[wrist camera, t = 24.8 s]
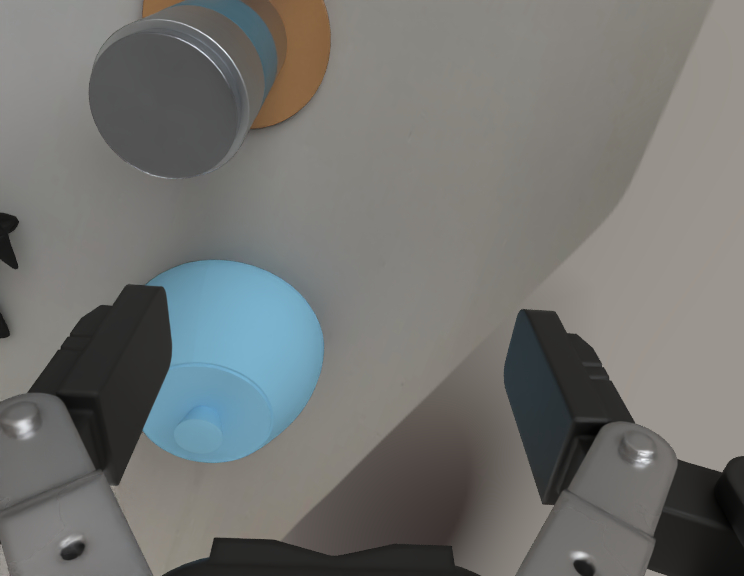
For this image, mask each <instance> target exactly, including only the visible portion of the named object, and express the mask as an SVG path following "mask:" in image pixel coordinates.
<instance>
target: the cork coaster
mask: <svg viewBox="0 0 744 576" xmlns="http://www.w3.org/2000/svg"><path fill="white" fill-rule="evenodd" d="M182 1H185V0H144V2H143V13H142V16H143V18H145V17H147V16H150V15H152V14H155V13H157V12H159V11H161V10H163V9H165V8H168V7H170V6H173V5H175V4H178V3H180V2H182ZM268 1H269V2H270V3H271V4H272V5H273V6H274V8H275V9H276V10H277V12H278V14H279V15H280V17H281V19H282V22H283V24H284V27H285V31H286V36H287V52H286V57H285V60H284V63H283V66H282V67H281V69H280V71H279V73H278V75H277V77H276V79H275V81H274V83H273V86H272V88H271V90H270V92H269V93H268V95H267V97H266V99H265V101H264V103H263V105H262V107H261V109H260V111H259V113H258V115H257V117H256V118H255V120H254V121H253V123H252V125H251V127H250V129H256V128H264V127H268V126H272V125H275V124H277V123H280V122H282V121H284V120H286V119H288V118H290V117H291V116H293V115H294V114H295V113H297V112H298V111H299V110H301V109H302V108H303V107H304V106H305V105H306V104H307V103H308V102H309V101H310V99H311V98H312V97H313V95H314V94H315V93H316V91H317V89H318V87H319V86H320V84H321V82H322V79H323V77H324V74H325V72H326V68H327V64H328V60H329V54H330V46H331V32H330V24H329V18H328V13H327V9H326V6H325V3H324V0H268Z"/></svg>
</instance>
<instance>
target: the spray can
mask: <svg viewBox="0 0 744 576" xmlns="http://www.w3.org/2000/svg"><path fill="white" fill-rule="evenodd" d="M286 52H287V36H286V31H285V27H284V24H283V22H282V19H281V17H280V15H279V14H278V12H277V10H276V9H275V8H274V6H273V5H272V4H271V3H270V2H269V1H268V0H185V1H182V2H180V3H178V4H175V5H173V6H170V7H168V8H165V9H163V10H161V11H159V12H157V13H155V14H152V15H150V16H147V17H145V18H142V19H140V20H137V21H135V22H133V23H130V24H128V25H126V26H124V27H122V28H121V29H119V30H117V31H116V32H115V33H113V34H112V35H111V36H110V37H109V38H108V39H107V40H106V42H105V43H104V44H103V45H102V47H101V49H100V50H99V52H98V54H97V56H96V59H95V62H94V64H93V69H92V74H91V78H90V83H89V103H90V108H91V112H92V116H93V118H94V121H95V124H96V126H97V128H98V130H99V132H100V134H101V135H102V137H103V138H104V140H105V141H106V143H107V144H108V145H109V146H110V148H111V149H112V150H113V151H114V152H115V153H116V154H117V155H118V156H119V157H121V158H122V159H123V160H124V161H126V162H127V163H129V164H130V165H132V166H133V167H135V168H137V169H139V170H141V171H142V172H145V173H148V174H150V175H153V176H157V177H161V178H168V179H184V178H190V177H195V176H199V175H203V174H207V173H209V172H212V171H214V170H216V169H218V168H220V167H221V166H223V165H224V164H225V163H227V162H228V161H229V160H230V159H231V158H232V157H233V156H234V155H235V154H236V152H237V151H238V150H239V148H240V147H241V145H242V143H243V141H244V139H245V137H246V135H247V133H248V131H249V129H250V127H251V125H252V123H253V121H254V120H255V118H256V117H257V115H258V113H259V111H260V109H261V107H262V105H263V103H264V101H265V99H266V97H267V95H268V93H269V92H270V90H271V88H272V86H273V83H274V81H275V79H276V77H277V75H278V73H279V71H280V69H281V67H282V66H283V63H284V60H285V57H286Z"/></svg>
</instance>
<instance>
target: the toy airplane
mask: <svg viewBox="0 0 744 576" xmlns="http://www.w3.org/2000/svg"><path fill="white" fill-rule="evenodd" d="M18 223H19V221H18V219H17V218H16V217H15V216H12V215H9V214H6V213H0V259H1V260H2V261H3V262H5V263H6V264H7V265H9V266H10V267H12V268H14V269H18V263H17V260H16V257H15V254H14V252H13V249H12V246H11V244H10V240H9V236H8V234H9V233H11V232H12V231H14V230H15V228H16V227H17V225H18ZM8 336H10V332H9V329H8V326H7V324H6V322H5V320H4V318H3V316H2V314H1V313H0V338H6V337H8Z"/></svg>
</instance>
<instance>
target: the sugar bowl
mask: <svg viewBox="0 0 744 576" xmlns="http://www.w3.org/2000/svg"><path fill="white" fill-rule="evenodd" d="M146 285H148V286H162V287H164V289H165V291H166V296H167V304H168V312H169V320H170V329H171V337H172V358H171V363H170V367H169V370H168V373H167V375H166V377H165V380H164V382H163V384H162V386H161V389H160V391H159V393H158V396H157V398H156V400H155V403H154V405H153V407H152V409H151V412H150V414H149V416H148V419H147V421H146V423H145V425H144V428H143V432H144V433H145V434H146V436H147V437H148V438H149V439H150V440H151V441H152V442H154V443H155V444H156V445H157V446H159V447H160V448H162V449H164V450H165V451H167V452H169V453H171V454H173V455H176V456H178V457H181V458H184V459H188V460H192V461H197V462H205V463H220V462H228V461H233V460H237V459H240V458H243V457H245V456H248V455H249V454H251V453H253V452H255V451H257V450H258V449H260V448H262V447H263V446H265V445H266V444H267V443H269V442H270V441H271V440H273V439H274V438H275V437H277V436H278V435H279V434H280V433H282V432H283V431H284V430H285V429H286V428H287V427H288V426H289V425H290V424H291V423H292V422H293V421H294V420H295V419H296V418H297V416H298V415H299V414H300V413H301V411H302V410H303V409H304V407H305V406H306V404H307V402H308V401H309V399H310V397H311V395H312V393H313V391H314V389H315V386H316V384H317V381H318V378H319V376H320V373H321V368H322V363H323V356H324V340H323V334H322V330H321V327H320V324H319V322H318V320H317V317H316V315H315V313H314V312H313V310H312V309H311V307H310V306H309V304H308V303H307V301H306V300H305V299H304V298H303V297H302V296H301V294H300V293H299V292H298V291H297V290H295V289H294V288H293V287H292V286H291V285H290V284H288V283H287V282H285V281H284V280H282V279H281V278H279V277H278V276H276V275H274V274H272V273H270V272H268V271H266V270H263V269H261V268H258V267H255V266H252V265H248V264H245V263H241V262H235V261H228V260H201V261H195V262H190V263H185V264H182V265H179V266H176V267H174V268H171V269H169V270H167V271H165V272H163V273H161V274H159V275H158V276H156V277H155V278H153V279H152V280H150V281H149V282H148V283H147V284H146Z"/></svg>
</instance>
